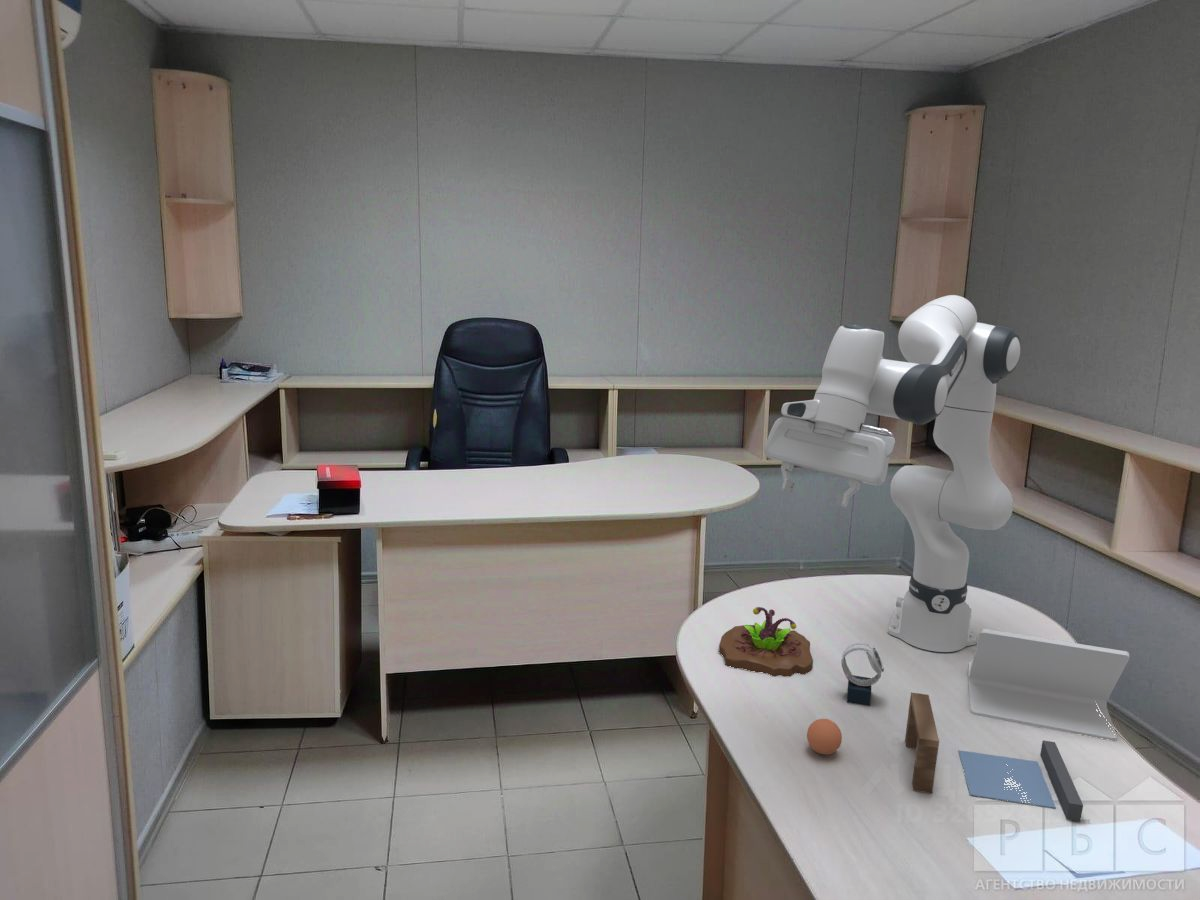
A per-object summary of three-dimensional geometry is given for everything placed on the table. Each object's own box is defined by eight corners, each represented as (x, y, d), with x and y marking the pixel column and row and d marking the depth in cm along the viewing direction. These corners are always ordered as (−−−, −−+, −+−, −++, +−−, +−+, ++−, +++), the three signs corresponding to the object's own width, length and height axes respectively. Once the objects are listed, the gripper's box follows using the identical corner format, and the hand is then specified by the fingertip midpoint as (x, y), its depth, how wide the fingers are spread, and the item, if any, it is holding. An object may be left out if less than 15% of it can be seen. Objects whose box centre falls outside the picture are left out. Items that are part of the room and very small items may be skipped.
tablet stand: (1117, 743, 164) (1133, 658, 159) (970, 715, 172) (981, 634, 167) (1100, 695, 180) (1114, 617, 176) (966, 672, 188) (977, 597, 184)
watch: (880, 707, 173) (886, 656, 170) (837, 700, 175) (842, 649, 172) (880, 693, 178) (885, 643, 176) (838, 687, 180) (843, 637, 178)
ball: (805, 739, 162) (808, 710, 160) (840, 744, 161) (843, 714, 159) (805, 758, 156) (808, 728, 155) (840, 763, 155) (843, 733, 154)
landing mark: (958, 751, 160) (958, 750, 159) (1037, 762, 157) (1037, 761, 157) (969, 795, 147) (970, 794, 147) (1055, 808, 144) (1055, 807, 144)
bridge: (913, 790, 148) (919, 738, 146) (904, 740, 162) (910, 692, 160) (932, 793, 148) (939, 741, 145) (922, 742, 162) (928, 694, 159)
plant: (720, 630, 205) (723, 584, 202) (808, 638, 202) (812, 592, 199) (717, 673, 186) (720, 623, 183) (813, 682, 183) (818, 632, 180)
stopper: (1040, 755, 159) (1042, 740, 158) (1052, 757, 158) (1054, 742, 158) (1066, 819, 142) (1069, 803, 141) (1080, 821, 141) (1083, 805, 141)
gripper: (903, 435, 146) (879, 517, 145) (786, 409, 156) (764, 486, 156) (894, 427, 140) (870, 512, 140) (774, 402, 151) (751, 480, 151)
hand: (813, 498), depth 148 cm, fingers open, 8 cm apart
